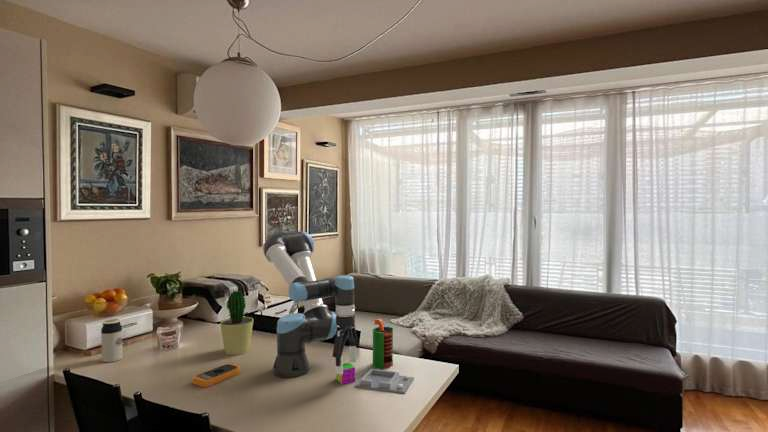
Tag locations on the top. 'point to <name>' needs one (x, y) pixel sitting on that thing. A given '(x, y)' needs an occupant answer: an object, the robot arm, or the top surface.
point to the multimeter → (216, 375)
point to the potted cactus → (236, 326)
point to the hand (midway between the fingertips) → (346, 367)
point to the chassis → (385, 381)
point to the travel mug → (111, 340)
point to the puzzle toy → (347, 374)
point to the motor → (382, 346)
